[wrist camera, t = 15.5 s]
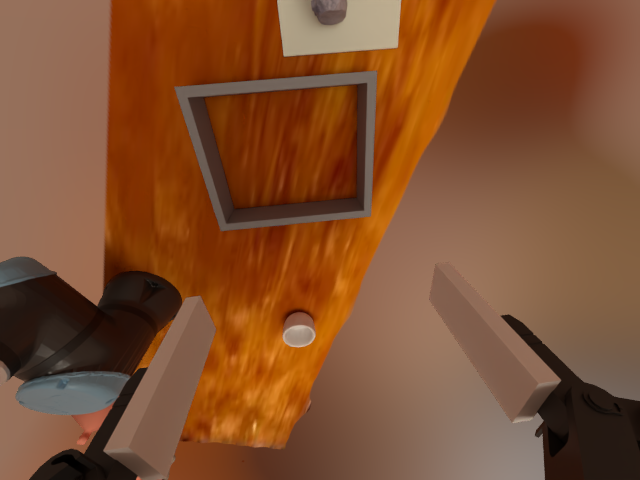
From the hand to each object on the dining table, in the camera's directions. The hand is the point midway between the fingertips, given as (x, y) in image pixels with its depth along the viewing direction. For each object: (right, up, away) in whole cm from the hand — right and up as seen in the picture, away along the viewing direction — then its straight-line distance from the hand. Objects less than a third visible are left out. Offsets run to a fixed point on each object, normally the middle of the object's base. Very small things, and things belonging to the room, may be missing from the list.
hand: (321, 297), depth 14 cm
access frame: (-5, +18, +27) cm, 33 cm away
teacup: (-6, -17, +48) cm, 51 cm away
